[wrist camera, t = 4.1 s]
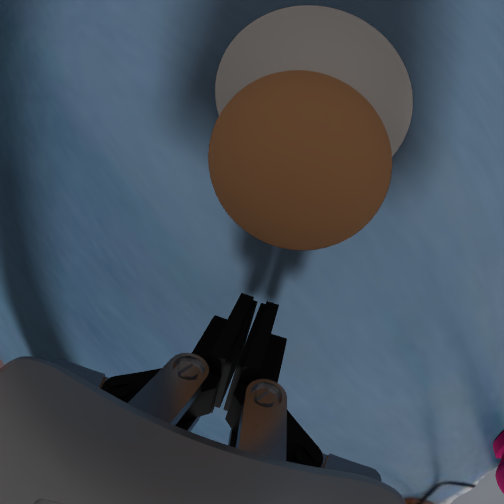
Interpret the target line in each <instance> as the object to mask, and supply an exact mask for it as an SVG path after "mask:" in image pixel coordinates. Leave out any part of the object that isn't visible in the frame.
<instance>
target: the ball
mask: <svg viewBox="0 0 504 504" xmlns="http://www.w3.org/2000/svg"><path fill="white" fill-rule="evenodd" d="M208 162H209V171H210V177H211V181H212V184H213V187H214V190H215V193H216V195H217V197H218V199H219V201H220V203H221V205H222V206H223V208H224V209H225V211H226V212H227V213H228V215H229V216H230V217H231V218H232V219H233V220H234V221H235V222H236V223H237V224H238V225H239V226H240V227H241V228H243V229H244V230H245V231H246V232H248V233H249V234H251V235H252V236H254V237H255V238H257V239H259V240H261V241H263V242H265V243H267V244H270V245H273V246H276V247H279V248H284V249H290V250H316V249H321V248H326V247H329V246H332V245H335V244H338V243H340V242H342V241H344V240H346V239H348V238H350V237H352V236H353V235H355V234H356V233H357V232H359V231H360V230H361V229H362V228H363V227H364V226H366V225H367V224H368V223H369V222H370V220H371V219H372V218H373V217H374V215H375V214H376V213H377V211H378V210H379V208H380V206H381V204H382V203H383V201H384V199H385V196H386V194H387V191H388V188H389V184H390V180H391V172H392V151H391V146H390V141H389V138H388V135H387V132H386V129H385V127H384V124H383V122H382V120H381V118H380V117H379V115H378V114H377V112H376V110H375V109H374V108H373V106H372V105H371V104H370V103H369V102H368V101H367V99H366V98H364V97H363V96H362V95H361V94H360V93H359V92H358V91H356V90H355V89H354V88H352V87H351V86H350V85H348V84H346V83H344V82H342V81H341V80H339V79H336V78H334V77H332V76H329V75H326V74H322V73H319V72H313V71H306V70H291V71H283V72H277V73H273V74H270V75H267V76H264V77H262V78H259V79H257V80H255V81H253V82H252V83H250V84H248V85H247V86H245V87H244V88H243V89H241V90H240V91H239V92H238V93H237V94H236V95H235V96H234V97H233V98H232V99H231V100H230V101H229V102H228V103H227V105H226V106H225V107H224V109H223V110H222V112H221V113H220V115H219V117H218V119H217V121H216V123H215V126H214V128H213V131H212V135H211V139H210V144H209V154H208Z"/></svg>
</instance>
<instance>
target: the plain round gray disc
mask: <svg viewBox="0 0 504 504" xmlns="http://www.w3.org/2000/svg"><path fill="white" fill-rule="evenodd" d="M291 70H306V71H313V72H319V73H322V74H326V75H329V76H332V77H334V78H336V79H339V80H341V81H342V82H344V83H346V84H348V85H350V86H351V87H352V88H354V89H355V90H356V91H358V92H359V93H360V94H361V95H362V96H363V97H364V98H366V99H367V101H368V102H369V103H370V104H371V105H372V106H373V108H374V109H375V110H376V112H377V114H378V115H379V117H380V118H381V120H382V122H383V124H384V127H385V129H386V132H387V135H388V138H389V141H390V146H391V151H392V156H393V155H394V154H395V153H396V152H397V150H398V149H399V147H400V146H401V144H402V142H403V141H404V139H405V136H406V134H407V132H408V129H409V126H410V122H411V118H412V110H413V93H412V87H411V82H410V79H409V75H408V72H407V69H406V67H405V65H404V63H403V61H402V59H401V57H400V56H399V54H398V53H397V51H396V50H395V48H394V47H393V46H392V44H391V43H390V42H389V41H388V40H387V39H386V38H385V37H384V36H383V35H382V34H381V33H380V32H379V31H378V30H377V29H375V28H374V27H373V26H371V25H370V24H368V23H367V22H365V21H364V20H362V19H360V18H358V17H356V16H354V15H352V14H349V13H347V12H344V11H342V10H338V9H334V8H330V7H324V6H316V5H301V6H292V7H287V8H282V9H278V10H276V11H273V12H270V13H268V14H265V15H264V16H262V17H260V18H258V19H256V20H255V21H253V22H252V23H250V24H249V25H247V26H246V27H245V28H244V29H243V30H242V31H241V32H240V33H238V34H237V36H236V37H235V38H234V39H233V40H232V42H231V43H230V44H229V46H228V48H227V49H226V51H225V53H224V55H223V57H222V59H221V62H220V64H219V68H218V71H217V75H216V83H215V100H216V107H217V111H218V115H220V113H221V112H222V110H223V109H224V107H225V106H226V105H227V103H228V102H229V101H230V100H231V99H232V98H233V97H234V96H235V95H236V94H237V93H238V92H239V91H240V90H241V89H243V88H244V87H245V86H247V85H248V84H250V83H252V82H253V81H255V80H257V79H259V78H262V77H264V76H267V75H270V74H273V73H277V72H283V71H291Z"/></svg>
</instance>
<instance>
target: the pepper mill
mask: <svg viewBox="0 0 504 504" xmlns="http://www.w3.org/2000/svg"><path fill="white" fill-rule="evenodd" d="M493 449H494V452H495V456H496V458H501V461H500V464H499V466H498V468H497V471H496V480H497V483H498V486H499V487H500V489H501V491H502V492H503V493H504V431H503V432H502V433H501V434H500V435H499V436H498V437H497V438H496V440H495V441H494V443H493Z"/></svg>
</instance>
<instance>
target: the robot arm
mask: <svg viewBox="0 0 504 504" xmlns="http://www.w3.org/2000/svg"><path fill="white" fill-rule="evenodd" d="M253 298H254V297H252V296H249V295H246V294H243V293H241V295H240V297H239V299H238V301H237V303H236V305H235V306H234V308H233V310H232V312H231V314H230V316H229V318H228V320H227V319H224V318H221V317H219V316H216V315H215V316H214V317H213V319H212V320H211V322H210V324H209V325H208V327H207V329H206V330H205V332H204V334H203V335H202V337H201V339H200V340H199V342H198V344H197V345H196V347H195V349H194V350H193V352H192V354H191V353H181V354H178V355H175V356H174V357H173V358H171V359H170V360H169V362H168V363H167V364H166V365H165V366H164V367H163V368H161V369H155V370H150V371H144V372H138V373H132V374H126V375H119V376H114V377H111V378H108V377H105V374H103V373H100V372H97V371H94V370H91V369H88V368H86V367H83V366H80V365H77V364H75V363H72V362H69V361H67V360H63V359H58V360H54V361H52V362H50V361H47V360H44V359H40V358H36V357H28V356H24V357H19V358H16V359H14V360H12V361H10V362H8V363H7V364H5V365H4V366H3V367H1V368H0V504H405V501H404V499H403V497H402V495H401V494H400V493H399V492H398V491H397V490H395V489H394V488H392V487H391V486H389V485H387V484H385V483H383V482H381V476H380V474H379V473H378V472H377V471H376V470H375V469H373V468H371V467H368V466H364V465H361V464H358V463H355V462H352V461H349V460H346V459H344V458H341V457H338V456H335V455H333V454H329V455H326V454H323V453H322V452H321V450H320V448H319V447H318V446H317V445H316V444H315V443H314V441H313V440H312V439H311V438H310V437H309V436H308V434H307V433H306V432H305V431H304V430H303V428H302V427H301V426H300V425H299V424H298V422H297V421H296V420H295V419H294V418H293V416H292V415H291V414H290V413H289V411H288V410H287V396H286V392H285V390H284V389H283V388H282V387H281V386H280V385H279V384H278V383H277V382H278V378H279V373H280V369H281V364H282V360H283V355H284V351H285V346H286V341H287V339H286V338H283V337H280V336H276V335H273V334H271V331H272V328H273V324H274V321H275V317H276V314H277V310H278V306H279V305H278V304H274V303H271V302H268V301H267V302H266V304H263V303H261V304H260V307H259V310H258V312H257V315H256V317H255V320H254V323H253V325H252V328H251V330H250V333H249V335H248V332H249V329H250V325H251V322H252V319H253V315H254V312H255V308H256V305H257V301H254V300H253ZM247 335H248V338H247ZM246 339H247V341H246ZM245 342H246V343H245ZM244 345H245V346H244ZM236 366H237V367H236ZM235 369H236V370H235ZM234 371H235V373H234ZM233 374H234V377H233V380H232V383H231V386H230V390H229V393H228V396H227V400H226V403H225V406H224V410H227V411H228V413H227V416H226V418H225V419H226V421H227V422H228V424H229V425H230V427H231V431H230V436H229V442H228V445H225V444H222V443H219V442H216V441H213V440H210V439H207V438H205V437H202V436H199V435H197V434H194V433H191V430H192V429H193V427H194V426H195V425H196V423H197V422H198V421H199V418H200V416H203V415H206V414H209V413H210V412H211V413H212V412H213V409H214V407H218V408H220V406H221V403H222V401H223V398H224V396H225V394H226V391H227V389H228V386H229V384H230V381H231V379H232V376H233Z"/></svg>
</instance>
